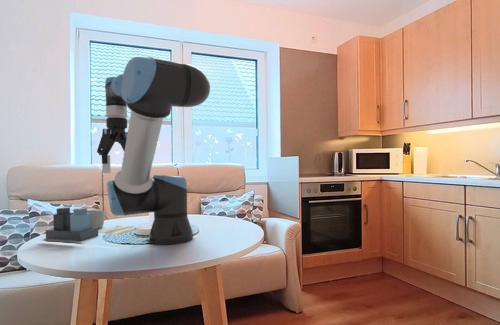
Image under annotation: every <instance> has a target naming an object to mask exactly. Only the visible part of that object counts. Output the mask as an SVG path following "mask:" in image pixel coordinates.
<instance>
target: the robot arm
mask: <svg viewBox="0 0 500 325" xmlns="http://www.w3.org/2000/svg"><path fill="white" fill-rule="evenodd" d="M104 89H105V110H106V111H105V112H106V113H105V116H106V121H105V122H106V123H105V125H106V126H105V127H106V128H103V129H102V134H101V138H100V141H99V144H98V147H97V150H96V153H97V154H98V155H99V156H101V163H102V174H110V173H111V172H112V171H111V155H110V151H111V150H112V148H113V146H114V144H115V143H118V144H119V145H120V146H121V148H122V151H123V158H122V164H121V169H120V170H119V171H118V172H117V173H116V174H115V175H114V179H111V180H109V181H107V185H106V187H107V196H108V197H107V198H108V204H109V208H110V212H111V214H112V215H114V216H116V217H118V216H120V217H121V216H123V217H124V216H125V217H126V216H131V215H139V214H140V215H142V214H147V213H148V214H149V213H153V221H152V222H153V223H152V225H151V228H150V232H149V235H148V236H149V242H150V243H152V244H153V245H155V244H156V245H175V244H183V243H186V242H189V241H191V240H192V239H193V238H194V236H193V234H194V233H193V232H194V231H193V229H192V226H191V223H190V220H189V218H188V185H187V179H186V178H185V177H184V176H177V175H164V174H153V175H152V176H151V175H150V174H151V171H152V167H153V161H154V158H155V155H156V150H157V145H158V142H159V137H160V133H161V128H162V124H163V121H164V119H166V118H168V117H169V116H170V114H171V112H172V111H171V110H172V107H177V108H181V107H182V108H191V107H192V108H193V107H196V106H199V105H201V104H203V103H204V102H205V101H206V100H207V99H208V97H209V96H210V92H211V84H210V80H209V78H208V77H207V75H206V73H205V72H203V71H202V70H201V69H200V68H198V67H196V66H194V65H192V64H189V63H181V62H176V61H171V60H163V59H159V58H154V57H151V56H148V57H146V56H134V57H132V58H131V59H130V60H129V61H128V62H127V63H126V66H125V68H124V70H123V73H121V74H118V75H116V76H109V77H107V78H106V79H105V86H104ZM127 108H128V109H127ZM128 110H130V117H129V122H128V119H127V118H128ZM126 129H127V131H126Z"/></svg>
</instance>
